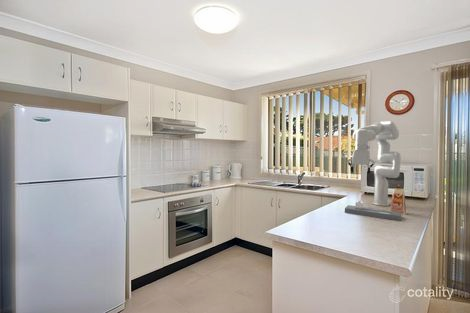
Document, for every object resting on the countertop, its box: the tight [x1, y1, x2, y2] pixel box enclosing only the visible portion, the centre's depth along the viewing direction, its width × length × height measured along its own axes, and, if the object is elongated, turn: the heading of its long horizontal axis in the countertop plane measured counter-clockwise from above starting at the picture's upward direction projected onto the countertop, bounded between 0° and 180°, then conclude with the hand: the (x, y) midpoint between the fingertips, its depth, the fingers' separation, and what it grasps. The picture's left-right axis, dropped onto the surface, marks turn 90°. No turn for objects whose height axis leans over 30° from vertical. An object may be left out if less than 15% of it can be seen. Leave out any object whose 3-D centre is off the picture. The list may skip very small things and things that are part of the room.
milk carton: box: [389, 184, 407, 216], centre depth 176 cm, size 9×9×20 cm
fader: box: [354, 200, 364, 209], centre depth 172 cm, size 5×4×4 cm
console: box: [344, 204, 402, 222], centre depth 168 cm, size 12×32×3 cm, turn 56°
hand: (360, 173), depth 170 cm, fingers open, 9 cm apart
